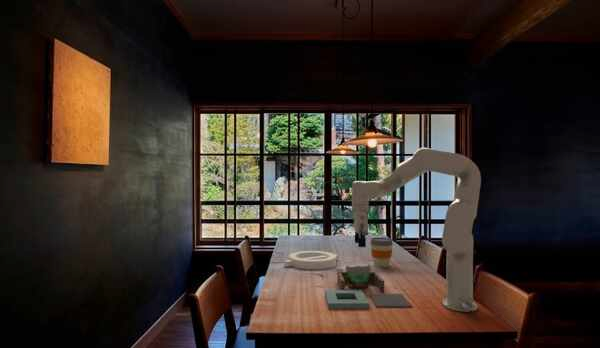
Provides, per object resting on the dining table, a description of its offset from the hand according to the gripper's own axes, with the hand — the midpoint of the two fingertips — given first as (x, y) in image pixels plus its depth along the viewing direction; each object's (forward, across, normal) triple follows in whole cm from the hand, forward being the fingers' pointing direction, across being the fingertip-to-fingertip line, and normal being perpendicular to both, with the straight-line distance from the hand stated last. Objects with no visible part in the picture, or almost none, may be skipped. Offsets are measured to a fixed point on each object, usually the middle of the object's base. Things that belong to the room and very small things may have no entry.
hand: (360, 244), depth 160 cm
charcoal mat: (+20, -17, -9) cm, 28 cm away
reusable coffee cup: (+20, +42, -20) cm, 51 cm away
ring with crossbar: (+21, +47, +20) cm, 55 cm away
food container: (+20, 0, 0) cm, 20 cm away
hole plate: (+20, -17, +9) cm, 28 cm away
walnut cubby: (+20, +1, 0) cm, 20 cm away
